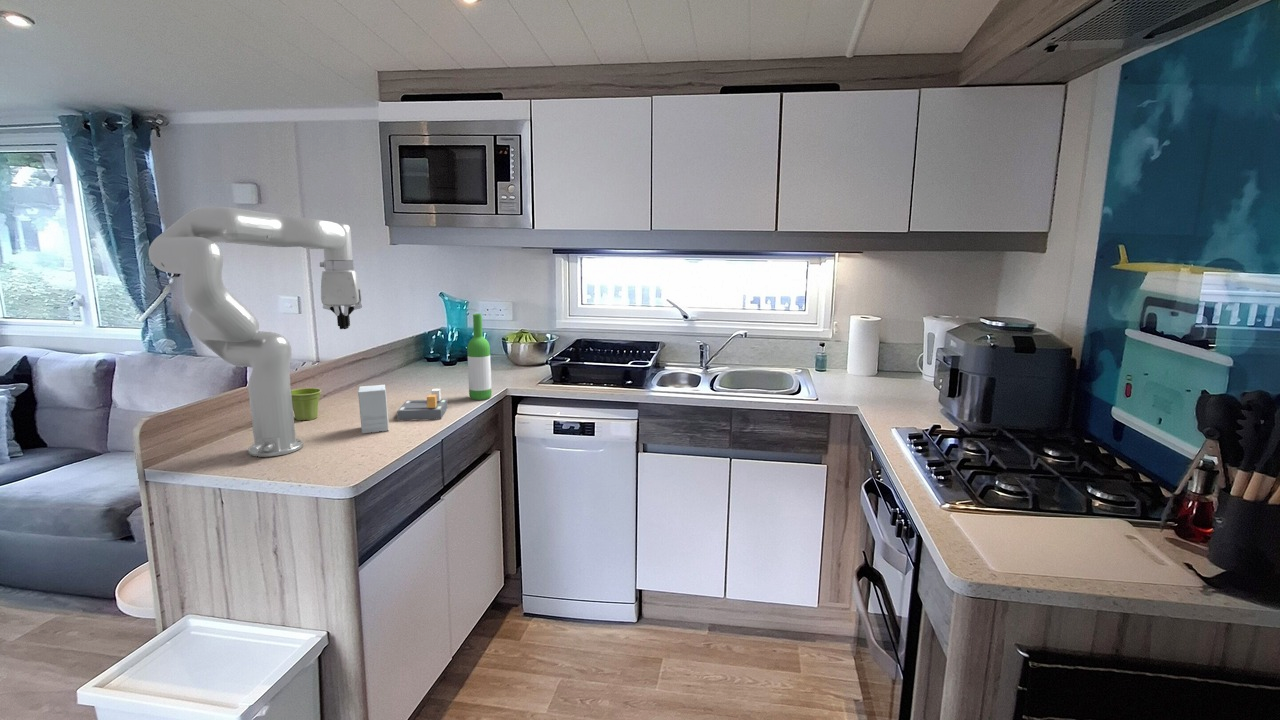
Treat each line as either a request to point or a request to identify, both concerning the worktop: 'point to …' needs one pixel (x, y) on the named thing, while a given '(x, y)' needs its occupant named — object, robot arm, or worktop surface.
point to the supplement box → (373, 408)
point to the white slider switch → (437, 393)
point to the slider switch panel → (421, 410)
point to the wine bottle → (479, 363)
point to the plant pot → (305, 403)
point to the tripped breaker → (431, 401)
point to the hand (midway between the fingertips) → (344, 328)
